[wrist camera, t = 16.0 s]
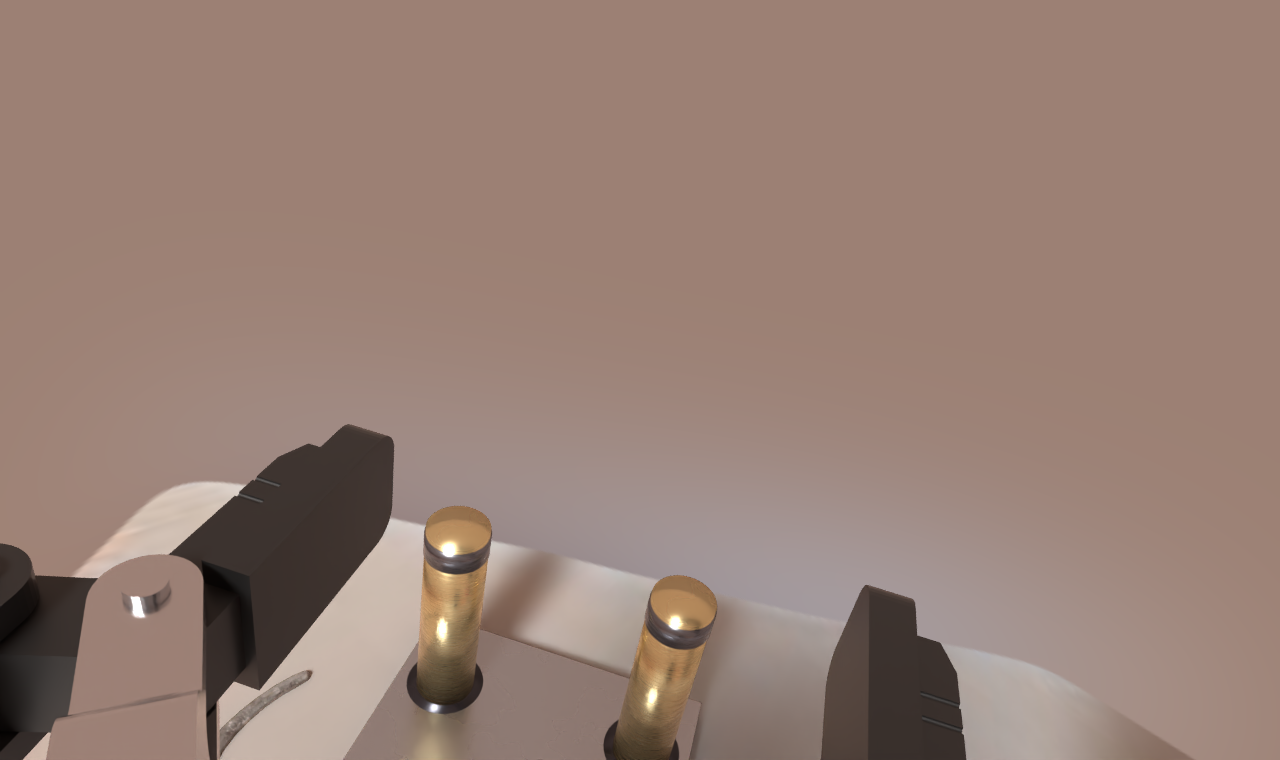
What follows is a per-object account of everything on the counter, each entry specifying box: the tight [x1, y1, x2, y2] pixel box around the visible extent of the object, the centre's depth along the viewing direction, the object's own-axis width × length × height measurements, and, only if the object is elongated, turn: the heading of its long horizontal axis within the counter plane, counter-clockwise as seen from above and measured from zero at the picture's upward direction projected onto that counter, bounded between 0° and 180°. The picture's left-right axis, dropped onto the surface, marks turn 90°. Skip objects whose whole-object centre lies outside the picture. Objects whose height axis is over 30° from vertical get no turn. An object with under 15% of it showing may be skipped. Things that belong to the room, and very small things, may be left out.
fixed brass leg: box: [416, 506, 492, 705], centre depth 42 cm, size 3×3×11 cm
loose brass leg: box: [613, 575, 717, 760], centre depth 40 cm, size 3×3×11 cm
